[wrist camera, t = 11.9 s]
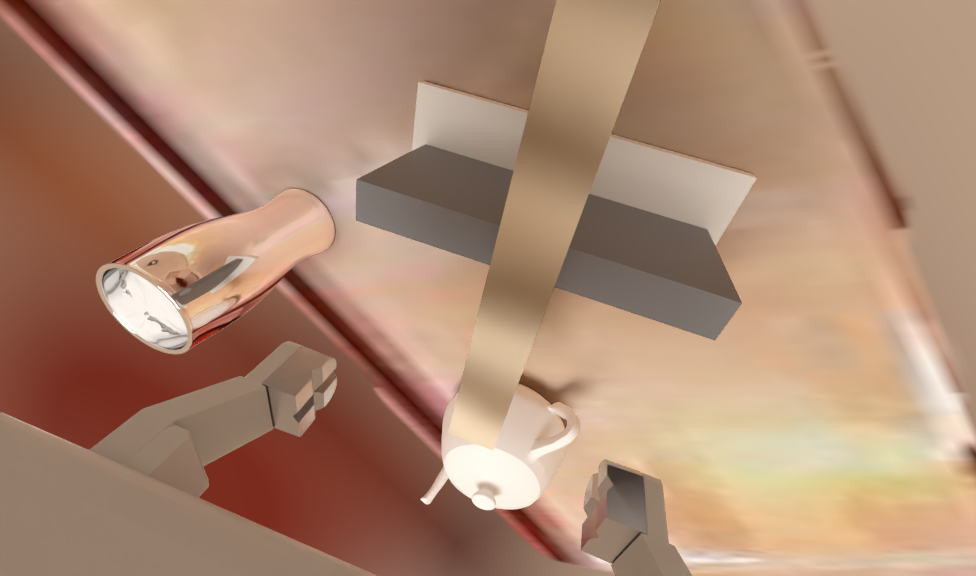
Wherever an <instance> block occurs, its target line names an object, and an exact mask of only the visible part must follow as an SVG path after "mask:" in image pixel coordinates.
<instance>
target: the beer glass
mask: <svg viewBox="0 0 976 576" xmlns="http://www.w3.org/2000/svg"><path fill="white" fill-rule="evenodd" d="M334 236H335V227H334V222H333V219H332V217H331V215H330V213H329V211H328V210H327V208H326V207H325V205H324V204H323V203H322V202H321V201H320V200H319V199H318V198H317V197H315V196H314V195H312V194H311V193H309V192H307V191H305V190H301V189H287V190H285V191H283V192H281V193H280V194H278V195H277V196H276V197H274V198H273V199H272V200H271V201H269V202H268V203H267V204H265V205H263V206H261V207H259V208H257V209H254V210H251V211H247V212H243V213H239V214H234V215H229V216H224V217H220V218H215V219H211V220H207V221H203V222H200V223H196V224H192V225H189V226H186V227H183V228H181V229H178V230H176V231H173V232H170V233H168V234H166V235H163V236H161V237H159V238H157V239H155V240H153V241H151V242H148V243H146V244H144V245H142V246H141V247H139V248H137V249H135V250H133V251H131V252H129V253H127V254H126V255H124V256H122V257H120V258H118V259H116V260H114V261H112V262H110V263H107V264H104V265H103V266H101V267H100V268H99V269H98V271H97V274H96V285H97V289H98V292H99V294H100V296H101V299H102V300H103V302H104V304H105V305H106V307H107V308H108V310H109V311H110V313H111V314H112V315H113V316H114V318H115V319H116V320H117V321H118V322H119V323H120V324H121V325H122V326H123V327H124V328H125V329H126V330H127V331H128V332H130V333H131V334H132V335H133V336H135V337H136V338H137V339H139V340H140V341H142V342H143V343H145V344H147V345H148V346H150V347H152V348H155V349H156V350H159V351H162V352H165V353H169V354H181V353H185V352H186V351H188V350H189V349H190V348H192V347H193V346H195V345H197V344H198V343H200V342H202V341H203V340H205V339H207V338H209V337H210V336H212V335H214V334H215V333H217V332H218V331H220V330H222V329H223V328H225V327H226V326H228V325H230V324H231V323H233V322H234V321H236V320H237V319H238V318H240V317H241V316H243V315H244V314H245V313H246V312H248V311H249V310H250V309H252V308H253V307H254V306H256V305H257V304H258V303H259V302H260V301H261V300H262V299H263V298H264V297H265V296H266V295H267V294H268V293H269V292H270V291H271V290H272V289H273V288H274V287H275V286H276V285H277V284H278V283H279V281H280V280H281V279H282V278H283V277H284V276H285V275H286V274H287V273H288V272H289V271H290V270H291V269H292V268H293V267H294V266H295V265H296V264H297V263H299V262H300V261H302V260H303V259H305V258H307V257H310V256H312V255H315V254H318V253H320V252H322V251H324V250H326V249H327V248H329V246H330V245H331V244H332V242H333V240H334Z"/></svg>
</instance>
